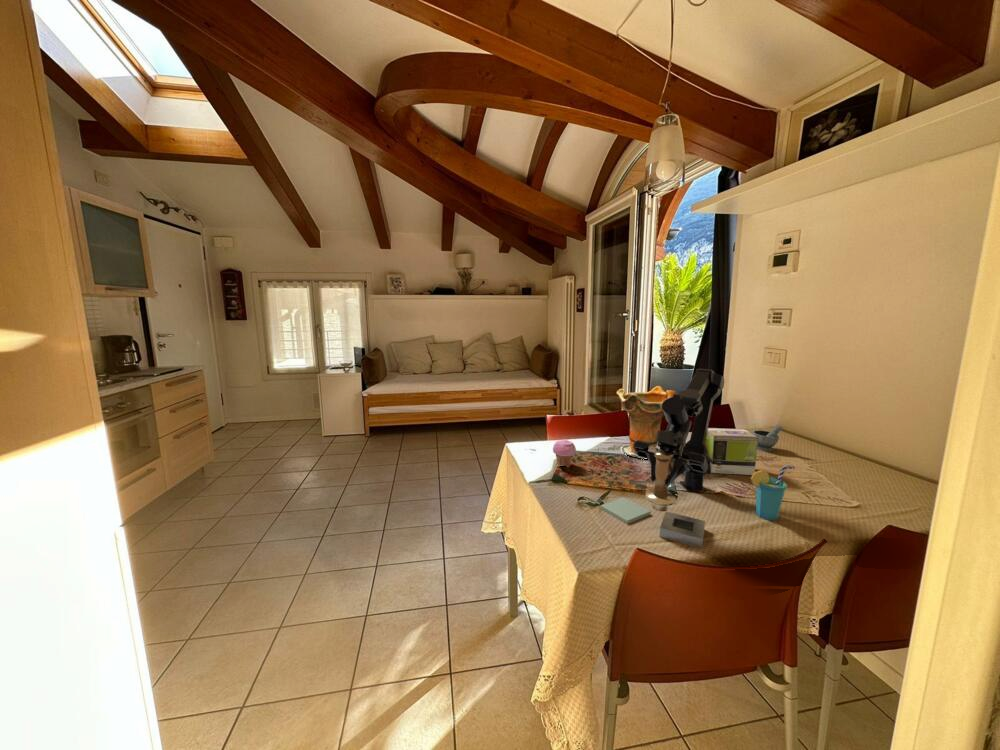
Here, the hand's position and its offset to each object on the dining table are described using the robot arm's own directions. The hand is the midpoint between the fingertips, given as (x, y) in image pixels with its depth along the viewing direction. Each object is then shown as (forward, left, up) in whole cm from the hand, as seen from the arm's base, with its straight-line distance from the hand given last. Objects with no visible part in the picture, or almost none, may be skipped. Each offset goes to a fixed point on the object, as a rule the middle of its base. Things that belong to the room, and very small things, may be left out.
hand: (659, 483), depth 107 cm
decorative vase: (-59, +16, -14) cm, 62 cm away
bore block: (+3, +6, -13) cm, 15 cm away
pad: (-9, -6, -13) cm, 17 cm away
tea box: (-42, +42, -14) cm, 61 cm away
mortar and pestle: (-64, +70, -14) cm, 96 cm away
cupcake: (-43, -19, -14) cm, 49 cm away
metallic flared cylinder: (-1, +1, -8) cm, 8 cm away
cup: (-9, +36, -14) cm, 39 cm away
